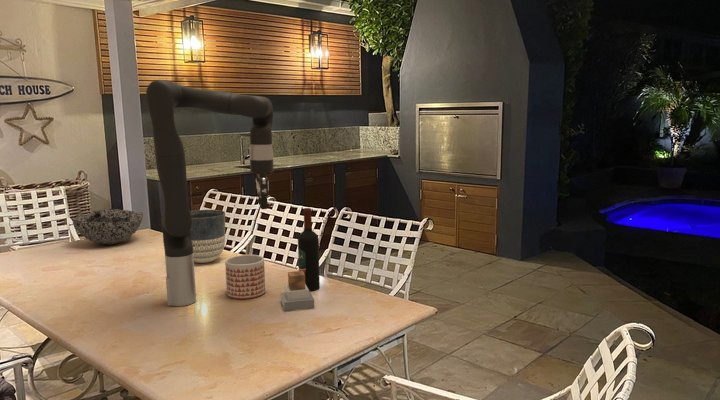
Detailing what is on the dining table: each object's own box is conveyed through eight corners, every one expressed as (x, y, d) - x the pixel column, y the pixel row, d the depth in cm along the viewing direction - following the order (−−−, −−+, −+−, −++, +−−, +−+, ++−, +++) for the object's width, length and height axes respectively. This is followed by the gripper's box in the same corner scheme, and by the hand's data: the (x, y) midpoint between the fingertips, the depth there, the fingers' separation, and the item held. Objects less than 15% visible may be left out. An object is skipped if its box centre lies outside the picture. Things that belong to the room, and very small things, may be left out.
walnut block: (290, 290, 182) (290, 276, 181) (288, 286, 186) (288, 272, 185) (305, 289, 183) (305, 275, 182) (303, 284, 188) (302, 270, 187)
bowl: (61, 250, 262) (58, 219, 259) (102, 235, 292) (99, 207, 290) (121, 252, 257) (118, 221, 254) (156, 236, 287) (154, 209, 285)
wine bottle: (316, 291, 198) (314, 211, 193) (296, 290, 200) (294, 210, 195) (321, 285, 206) (320, 207, 201) (302, 284, 207) (300, 206, 202)
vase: (247, 284, 207) (245, 252, 205) (273, 291, 199) (272, 257, 197) (218, 295, 196) (217, 260, 194) (245, 302, 188) (243, 266, 186)
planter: (236, 259, 242) (234, 212, 239) (202, 270, 226) (199, 219, 223) (206, 253, 253) (203, 208, 249) (171, 263, 237) (168, 215, 233)
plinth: (284, 311, 180) (283, 293, 179) (280, 301, 189) (280, 284, 188) (314, 308, 182) (314, 290, 181) (309, 298, 192) (308, 281, 191)
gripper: (275, 159, 173) (276, 210, 175) (270, 156, 186) (272, 203, 189) (251, 160, 171) (253, 211, 173) (248, 156, 184) (250, 203, 187)
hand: (262, 206), depth 181 cm, fingers open, 8 cm apart
